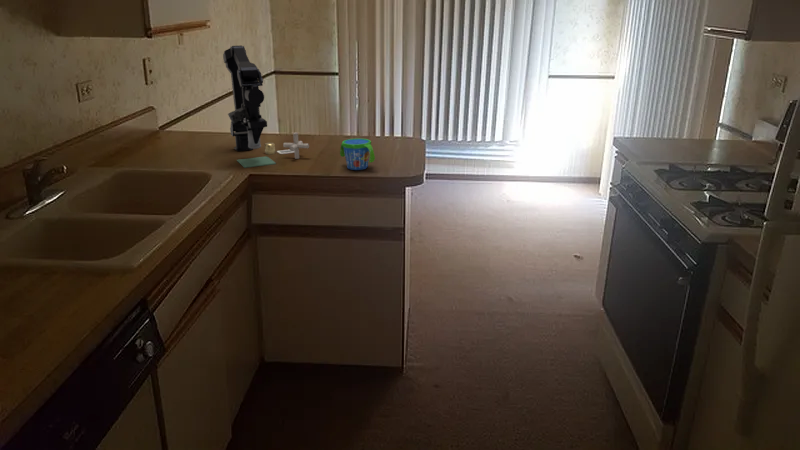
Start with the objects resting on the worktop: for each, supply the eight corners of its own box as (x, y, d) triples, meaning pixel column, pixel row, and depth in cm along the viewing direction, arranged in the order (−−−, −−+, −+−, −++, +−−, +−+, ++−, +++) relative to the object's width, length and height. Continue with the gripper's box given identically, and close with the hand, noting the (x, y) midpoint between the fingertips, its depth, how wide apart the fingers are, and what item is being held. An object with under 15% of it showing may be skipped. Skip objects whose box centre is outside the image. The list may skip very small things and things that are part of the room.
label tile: (276, 151, 254) (276, 150, 254) (295, 149, 258) (295, 148, 258) (280, 154, 250) (280, 153, 250) (299, 152, 254) (299, 151, 254)
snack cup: (333, 166, 231) (331, 140, 228) (354, 162, 238) (354, 135, 235) (360, 175, 221) (359, 146, 217) (382, 169, 228) (381, 142, 224)
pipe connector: (304, 161, 238) (303, 136, 235) (280, 160, 240) (278, 135, 237) (313, 155, 248) (311, 130, 244) (289, 154, 250) (288, 130, 246)
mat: (236, 160, 240) (236, 159, 240) (267, 157, 246) (267, 156, 245) (244, 167, 230) (244, 166, 230) (275, 164, 236) (275, 163, 235)
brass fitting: (264, 152, 253) (263, 143, 251) (273, 151, 254) (273, 142, 253) (266, 155, 249) (266, 145, 248) (276, 153, 251) (275, 144, 250)
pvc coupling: (246, 145, 237) (245, 130, 235) (259, 144, 239) (258, 129, 237) (249, 149, 233) (248, 133, 231) (262, 148, 235) (261, 132, 233)
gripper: (223, 99, 234) (227, 139, 240) (234, 106, 219) (239, 149, 224) (252, 96, 239) (256, 136, 245) (265, 104, 224) (269, 146, 229)
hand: (254, 142), depth 235 cm, fingers closed on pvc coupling, 4 cm apart
